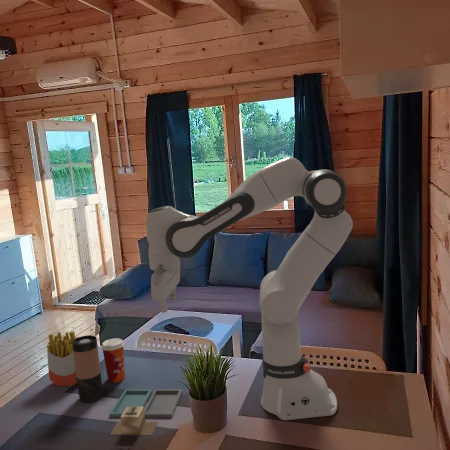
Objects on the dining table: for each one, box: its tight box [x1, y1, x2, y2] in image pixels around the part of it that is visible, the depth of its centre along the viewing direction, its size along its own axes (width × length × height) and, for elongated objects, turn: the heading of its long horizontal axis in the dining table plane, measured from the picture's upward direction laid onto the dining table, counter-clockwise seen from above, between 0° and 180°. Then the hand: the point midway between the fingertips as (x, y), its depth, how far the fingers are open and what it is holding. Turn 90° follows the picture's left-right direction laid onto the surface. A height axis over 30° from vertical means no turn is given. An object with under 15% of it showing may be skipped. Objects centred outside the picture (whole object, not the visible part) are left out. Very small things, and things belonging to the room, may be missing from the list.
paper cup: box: [101, 337, 126, 384], centre depth 154 cm, size 8×8×14 cm
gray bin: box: [144, 388, 183, 419], centre depth 136 cm, size 9×14×2 cm, turn 173°
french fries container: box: [46, 330, 79, 387], centre depth 154 cm, size 5×11×18 cm, turn 88°
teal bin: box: [108, 388, 153, 418], centre depth 137 cm, size 9×14×2 cm, turn 173°
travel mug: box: [72, 334, 104, 404], centre depth 142 cm, size 8×8×20 cm
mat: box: [109, 421, 159, 437], centre depth 125 cm, size 12×6×1 cm, turn 83°
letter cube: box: [120, 407, 146, 434], centre depth 124 cm, size 5×5×5 cm
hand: (168, 306), depth 133 cm, fingers open, 8 cm apart
